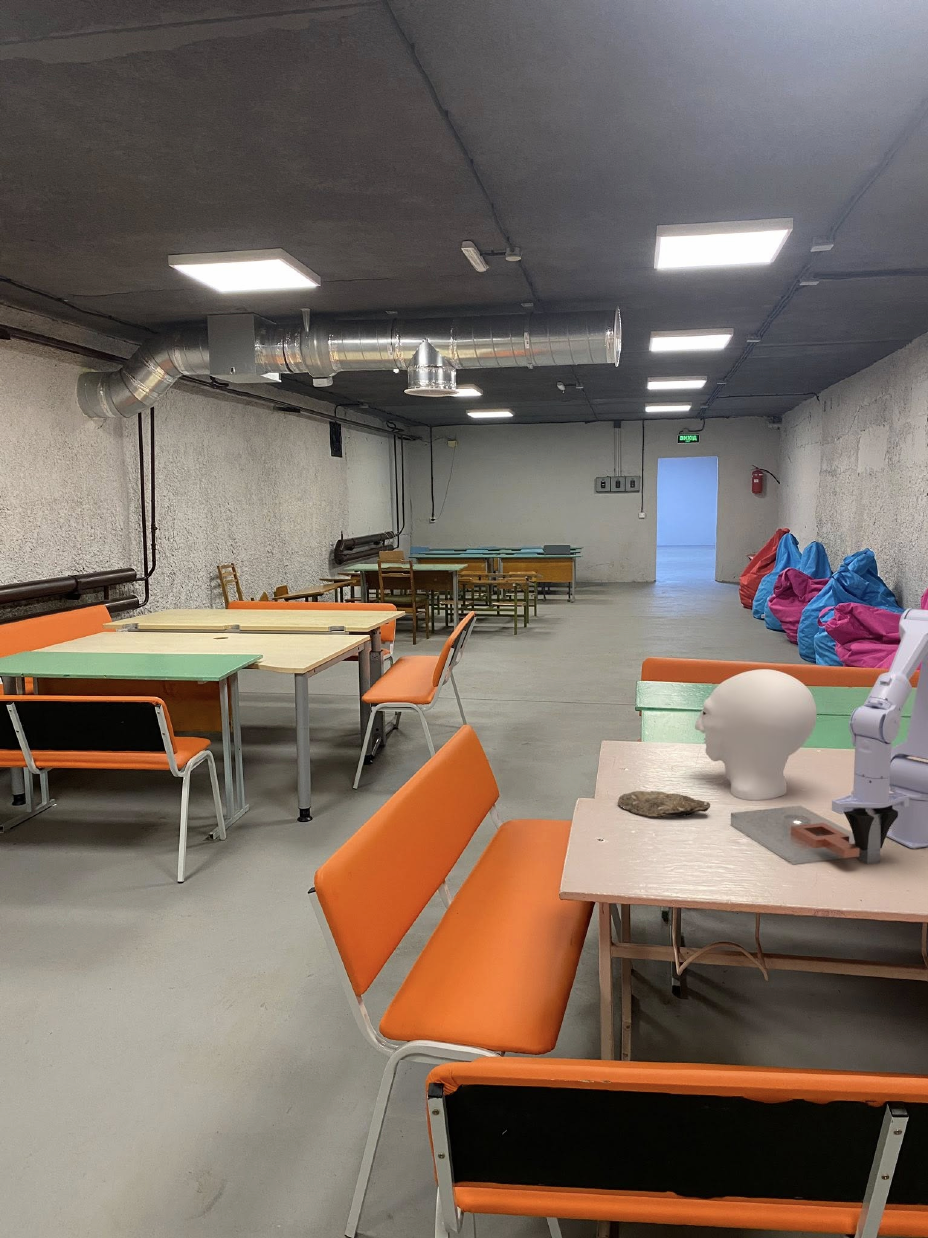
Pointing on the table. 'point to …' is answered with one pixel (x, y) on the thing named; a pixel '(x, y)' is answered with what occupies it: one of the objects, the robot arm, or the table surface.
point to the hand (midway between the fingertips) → (868, 847)
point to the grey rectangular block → (872, 840)
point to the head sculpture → (757, 729)
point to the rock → (661, 804)
